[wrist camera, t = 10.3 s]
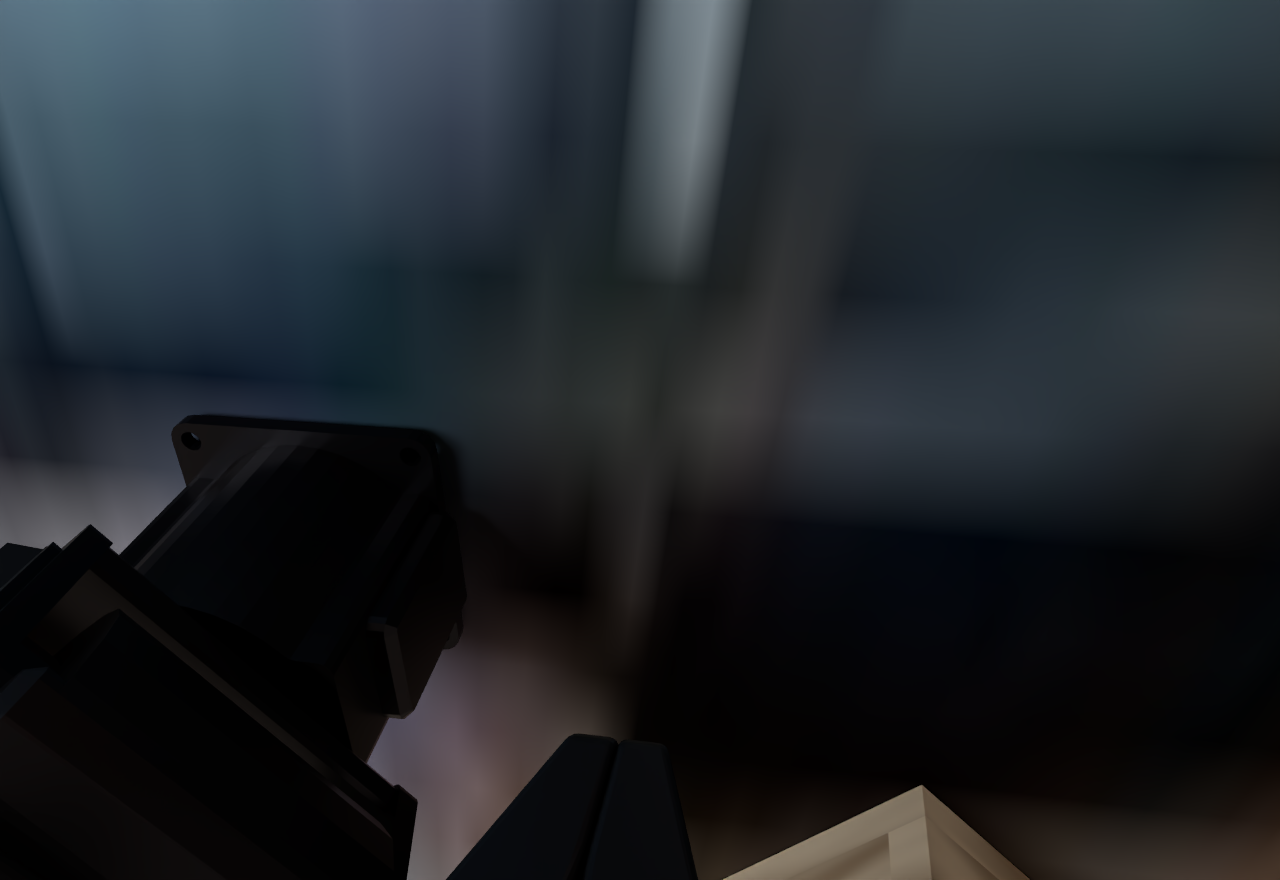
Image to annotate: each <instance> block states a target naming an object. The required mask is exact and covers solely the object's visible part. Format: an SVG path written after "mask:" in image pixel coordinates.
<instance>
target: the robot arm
mask: <svg viewBox="0 0 1280 880" xmlns="http://www.w3.org/2000/svg"><path fill="white" fill-rule="evenodd" d="M191 433H194V434H195V435H196V436H198V437H199V439H200V441H198V440H197V439H195V438H194V437H193V436H192V434H191ZM171 435H172V441H173V445H174V448H175V451H176V454H177V457H178V461H179V464H180V467H181V470H182V473H183V476H184V480H185V483H186V486H187V487H186V488H185V489H184V490H183V491H182V492H181V493H180V494H179V495H178V496H177V497H176V498H175V499H174V500H173V501H172V502H171V503H170V504H169V505H168V506H167V507H166V508H165V509H164V510H163V511H162V512H161V513H160V514H159V515H158V516H157V517H156V518H155V519H154V520H153V521H152V522H151V523H150V524H149V525H148V526H147V527H146V528H145V529H144V530H143V531H142V532H141V533H140V534H139V535H138V536H137V537H136V538H135V539H134V540H133V541H132V542H131V543H130V544H129V546H128V547H127V548H126V549H125V550H124V551H123V552H122V553H121V554H120V555H118V554H117V553H116V552H115V551H113V550H112V549H111V548H110V546H111V545H112V544H113V543H112V542H111V541H110V540H109V539H107V538H106V537H105V536H104V535H103V534H102V533H100V532H99V531H98V530H97V529H96V528H94V527H93V526H92V525H91V524H90V525H88V526H87V527H86V528H85V529H84V530H83V531H81V532H80V533H79V534H78V535H77V536H76V537H74V538H73V539H72V540H71V541H70V542H69V543H67V544H66V545H65V546H64V547H63V548H62V549H61V548H60V547H59V546H58V545H56V544H55V543H54V542H52V543H51V544H50V545H49V546H48V547H47V546H46V547H45V548H44V549H39V548H33V547H28V546H23V545H17V544H12V543H6V544H5V545H4V546H3V547H2V548H1V549H0V880H407V873H408V866H409V859H410V852H411V846H412V839H413V832H414V825H415V818H416V811H417V804H418V801H417V799H415V798H414V797H413V796H412V795H411V794H409V793H408V792H407V791H406V790H405V789H404V788H402V787H401V786H400V785H395V786H393V785H391V784H390V783H389V782H388V781H387V780H386V779H384V778H383V777H382V776H381V775H380V774H378V773H377V772H376V771H375V770H374V769H372V768H371V767H370V766H369V765H368V764H366V763H367V761H368V759H369V757H370V755H371V753H372V751H373V749H374V747H375V745H376V743H377V741H378V739H379V737H380V735H381V733H382V731H383V729H384V727H385V725H386V723H387V721H388V719H389V718H398V719H405V718H406V717H407V716H408V715H409V714H410V713H412V712H413V711H414V710H415V708H416V705H417V703H418V701H419V699H420V697H421V695H422V693H423V690H424V688H425V686H426V684H427V682H428V680H429V678H430V676H431V673H432V671H433V669H434V667H435V665H436V663H437V661H438V658H439V656H440V654H441V652H442V650H443V649H450V648H453V647H455V645H456V644H457V643H458V641H459V639H460V637H461V634H462V632H463V621H462V615H461V609H462V607H463V605H464V603H465V601H466V597H467V594H466V588H465V581H464V574H463V567H462V560H461V553H460V546H459V539H458V532H457V525H456V521H455V520H454V519H453V517H452V516H451V515H450V513H448V512H446V508H445V502H444V495H443V488H442V482H441V475H440V468H439V462H438V455H437V449H436V446H435V443H434V442H433V440H432V439H431V438H430V437H429V436H428V435H426V434H425V433H423V432H421V431H417V430H411V429H396V428H382V427H367V426H352V425H337V424H322V423H307V422H293V421H278V420H263V419H248V418H233V417H218V416H204V415H190V416H187V417H185V418H184V419H183V420H182V421H180V422H179V423H178V424H177V425H176V426H175V427H174V428H173V430H172V433H171ZM408 447H409V448H412V449H415V450H416V451H417V452H418V453H419V455H420V457H415V456H412V455H411V454H410V453H409V452H408V451H407V449H406V448H408ZM446 880H698V877H697V873H696V868H695V864H694V860H693V855H692V851H691V847H690V842H689V838H688V834H687V829H686V825H685V821H684V816H683V812H682V808H681V803H680V799H679V794H678V790H677V786H676V781H675V777H674V773H673V768H672V764H671V760H670V756H669V752H668V749H667V748H666V746H665V745H663V744H661V743H655V742H647V741H638V740H629V739H628V740H623V741H621V742H620V744H619V745H618V743H617V741H616V740H615V739H613V738H611V737H604V736H595V735H587V734H573V735H571V736H569V737H568V738H567V739H566V740H565V741H564V742H563V743H562V744H561V745H560V746H559V748H558V749H557V750H556V751H555V752H554V753H553V755H552V756H551V757H550V758H549V759H548V760H547V762H546V763H545V764H544V765H543V766H542V767H541V769H540V770H539V771H538V772H537V773H536V775H535V776H534V777H533V778H532V779H531V780H530V782H529V783H528V784H527V785H526V786H525V787H524V789H523V790H522V791H521V792H520V793H519V794H518V796H517V797H516V798H515V799H514V800H513V801H512V803H511V804H510V805H509V806H508V807H507V809H506V810H505V811H504V812H503V813H502V814H501V816H500V817H499V818H498V819H497V820H496V821H495V823H494V824H493V825H492V826H491V827H490V828H489V830H488V831H487V832H486V833H485V834H484V836H483V837H482V838H481V839H480V840H479V841H478V843H477V844H476V845H475V846H474V847H473V848H472V850H471V851H470V852H469V853H468V854H467V855H466V857H465V858H464V859H463V860H462V861H461V863H460V864H459V865H458V866H457V867H456V868H455V870H454V871H453V872H452V873H451V874H450V875H449V877H448V878H447V879H446Z"/></svg>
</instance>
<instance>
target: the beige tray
mask: <svg viewBox="0 0 1280 880" xmlns="http://www.w3.org/2000/svg"><path fill="white" fill-rule="evenodd" d="M723 880H1030V879H1029V878H1028V877H1027V876H1025V875H1024V874H1023V873H1022V872H1021V871H1020V870H1019V869H1017V868H1016V867H1015V866H1014V865H1013V864H1012V863H1011V862H1009V861H1008V860H1007V859H1006V858H1005V857H1004V856H1003V855H1001V854H1000V853H999V852H998V851H997V850H996V849H995V848H993V847H992V846H991V845H990V844H989V843H988V842H987V841H985V840H984V839H983V838H982V837H981V836H980V835H979V834H978V833H976V832H975V831H974V830H973V829H972V828H971V827H970V826H968V825H967V824H966V823H965V822H964V821H963V820H962V819H960V818H959V817H958V816H957V815H956V814H955V813H954V812H952V811H951V810H950V809H949V808H948V807H947V806H946V805H944V804H943V803H942V802H941V801H940V800H939V799H938V798H936V797H935V796H934V795H933V794H932V793H931V792H930V791H928V790H927V789H926V788H925V787H924V786H923V785H920V786H918V787H916V788H914V789H912V790H910V791H908V792H905V793H903V794H901V795H899V796H897V797H895V798H893V799H891V800H889V801H887V802H884V803H882V804H880V805H878V806H876V807H874V808H872V809H870V810H868V811H866V812H863V813H861V814H859V815H857V816H855V817H853V818H851V819H849V820H847V821H845V822H842V823H840V824H838V825H836V826H834V827H832V828H830V829H828V830H826V831H824V832H822V833H819V834H817V835H815V836H813V837H811V838H809V839H807V840H805V841H803V842H801V843H798V844H796V845H794V846H792V847H790V848H788V849H786V850H784V851H782V852H780V853H777V854H775V855H773V856H771V857H769V858H767V859H765V860H763V861H761V862H759V863H756V864H754V865H752V866H750V867H748V868H746V869H744V870H742V871H740V872H738V873H735V874H733V875H731V876H729V877H727V878H725V879H723Z"/></svg>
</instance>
